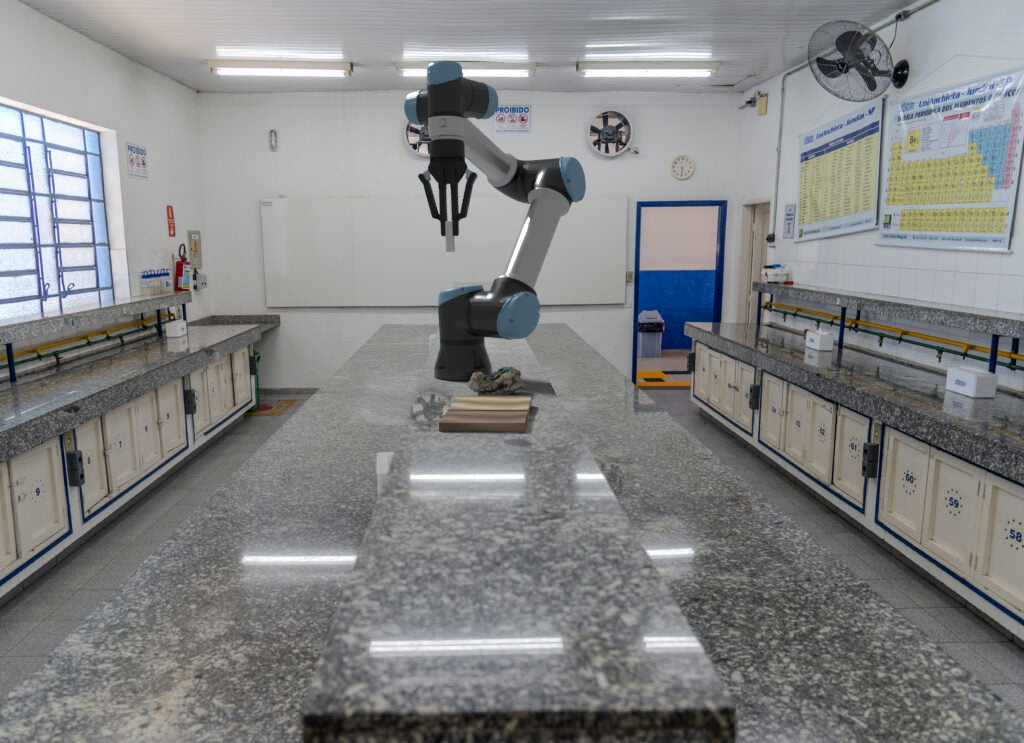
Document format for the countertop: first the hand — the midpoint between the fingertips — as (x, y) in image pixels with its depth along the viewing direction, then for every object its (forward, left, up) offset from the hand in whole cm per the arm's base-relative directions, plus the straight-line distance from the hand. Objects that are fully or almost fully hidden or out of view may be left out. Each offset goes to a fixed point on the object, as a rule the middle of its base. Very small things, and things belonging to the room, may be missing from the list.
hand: (450, 251), depth 154 cm
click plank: (+15, +10, -32) cm, 37 cm away
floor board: (+25, +10, -32) cm, 42 cm away
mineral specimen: (-1, +9, -33) cm, 34 cm away
